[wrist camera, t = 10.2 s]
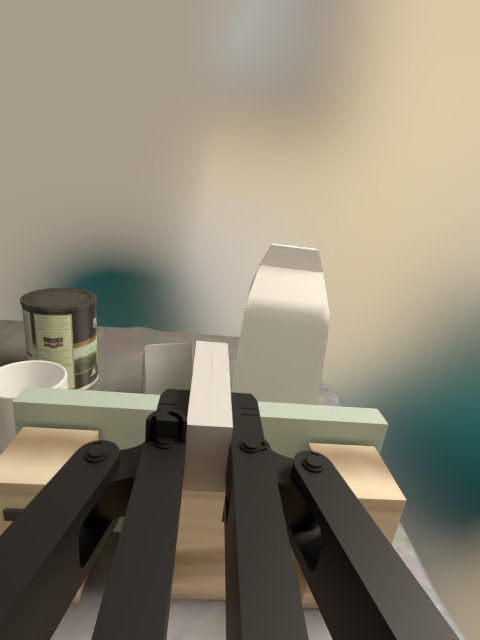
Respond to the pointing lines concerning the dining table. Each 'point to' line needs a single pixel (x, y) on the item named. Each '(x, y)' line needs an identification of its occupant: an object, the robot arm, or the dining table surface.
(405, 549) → the dining table surface
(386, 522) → the numbered block 1
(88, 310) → the coffee can
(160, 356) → the white juice carton
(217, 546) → the plain block
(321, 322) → the milk
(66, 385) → the mug
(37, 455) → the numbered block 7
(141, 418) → the rack board
